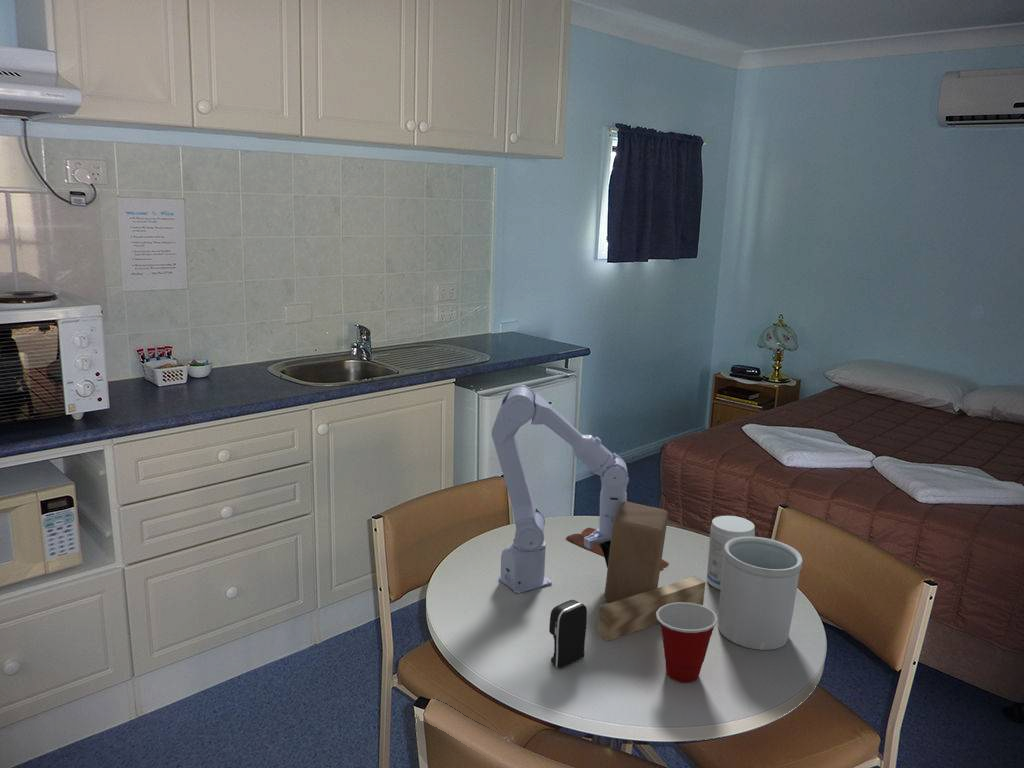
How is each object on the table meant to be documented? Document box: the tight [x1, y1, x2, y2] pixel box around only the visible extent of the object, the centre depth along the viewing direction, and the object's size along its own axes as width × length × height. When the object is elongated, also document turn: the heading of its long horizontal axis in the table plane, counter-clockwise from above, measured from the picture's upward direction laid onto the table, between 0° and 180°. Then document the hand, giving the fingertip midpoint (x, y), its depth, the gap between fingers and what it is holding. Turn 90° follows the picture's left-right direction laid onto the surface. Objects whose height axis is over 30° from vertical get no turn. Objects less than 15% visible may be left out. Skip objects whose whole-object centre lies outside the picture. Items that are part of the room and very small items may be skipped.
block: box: [603, 501, 669, 604], centre depth 166 cm, size 10×10×20 cm
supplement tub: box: [706, 515, 756, 591], centre depth 177 cm, size 10×10×15 cm
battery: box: [548, 599, 588, 670], centre depth 146 cm, size 7×4×11 cm, turn 131°
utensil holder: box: [717, 536, 804, 651], centre depth 157 cm, size 15×15×18 cm
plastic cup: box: [656, 602, 718, 684], centre depth 143 cm, size 11×11×12 cm
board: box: [597, 575, 706, 642], centre depth 161 cm, size 26×3×6 cm, turn 123°
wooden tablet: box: [565, 527, 670, 572], centre depth 193 cm, size 27×10×2 cm, turn 45°
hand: (611, 568), depth 175 cm, fingers closed, pressing on block
